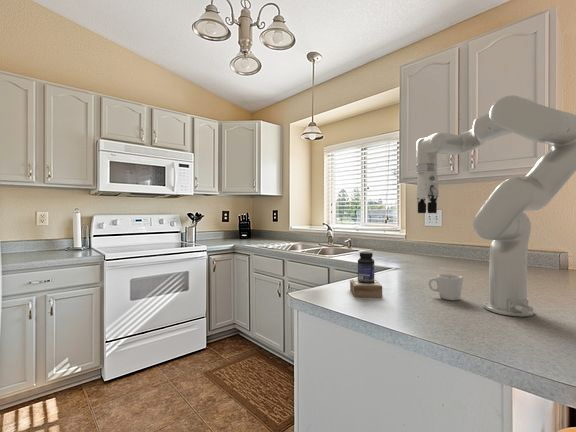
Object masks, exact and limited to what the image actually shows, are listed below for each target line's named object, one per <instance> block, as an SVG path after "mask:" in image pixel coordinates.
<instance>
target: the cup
mask: <svg viewBox="0 0 576 432" xmlns="http://www.w3.org/2000/svg"><path fill="white" fill-rule="evenodd" d="M463 280H464V278H463V276H461V275H459V274H454V273H453V274H452V273H440V274H437V277H431V278H430V279H429V280H428V287H429V289H430V290H431V291H434V292H438V294H439V297H440V298H441V299H444V300H447V301H458V300H460V299H461V295H462V287H463ZM433 281H435V282H436V287H433V286H432V282H433Z"/></svg>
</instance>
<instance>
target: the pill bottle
mask: <svg viewBox="0 0 576 432" xmlns="http://www.w3.org/2000/svg"><path fill="white" fill-rule="evenodd" d="M373 256H374V255H373V252H369V251H361V252H359V257H360V258H359V259H357V280H358V281H359V282H360V283H366V284H371V283H374V280H375V260H374V259H373Z"/></svg>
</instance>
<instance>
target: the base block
mask: <svg viewBox="0 0 576 432" xmlns="http://www.w3.org/2000/svg"><path fill="white" fill-rule="evenodd" d="M349 285H350V286H349V289H350V293H351V294H352V295H353V296H352V297H354V298H383V286H382V284H381V283H380V282H379V281H377V280H376V279H374V283H371V284H366V283H360V282H359V281H358V279H350V280H349Z"/></svg>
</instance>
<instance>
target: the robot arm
mask: <svg viewBox="0 0 576 432" xmlns="http://www.w3.org/2000/svg"><path fill="white" fill-rule="evenodd" d="M512 133H513V134H515V135H518V136H520V137H522V138H524V139H527V140H528V141H529V140H530V141H532V142H536V143H540V144H546V145H551V148H550V149H549V151H547V152H546V153H545V154H543V156H541V158H539V159H538V160H537V161H536V163H535V164H534V166H533V167H532V168H531V169H530V171H529V172H528V173H527V174H525V176H514V177H509V178H508V179H506V180H503V181H502V182H501V183H499V185H497V186H496V187H495V189H493V191H492V192H491V194H490V195H489V196H488V198H487V199H486V200H485V202H484V203H483V205H482V206H481V207H480V209H479V210H478V211H477V212H476V215H475V216H474V219H473V223H472V224H473V225H472V226H473V231H474V232H475V234H476V235H477V236H478V237H479V238H482V239H484V240H488V241H491V243H490V246H489V247H490V248H489V263H488V264H489V265H488V266H489V269H488V271H489V273H488V280H489V283H488V284H489V285H488V286H489V288H488V289H489V291H488V298H489V299H488V300H487V301H485V302H483V308H484V309H486V310H487V311H489V312H492V313H495V314H500V315H505V316H510V317H531V316H533V315H534V311H535V310H534V307H532V306H530V305H529V300H528V254H529V253H528V249H529V243H530V242H529V241H530V235H531V231H532V225H531V224H532V222H531V219H530V218H529V216H528V215H527V213H525V212H527V211H529V212H530V211H539V210H541V209H544V207H546V206H548V204H550V202H551V201H552V200H553V199H554V197H556V195H557V194H558V193H559V192H560V191H561V189H563V188H564V186H565V185H566V183H568V181H569V180H570V178H571V177H572V176H573V175H574V174H575V172H576V114H575V113H572V112H568V111H563V110H559V109H555V108H553V107H550V106H546V105H543V104H539V103H537V102H535V101H534V100H532V99H529V98H526V97H523V96H518V95H505V96H503V97H501V98H499V99H498V100H496V101H495V102H493V104H492V106H491V107H490V110H489V112H487V113H484V114H482V115H480V116H478V117H476V118H475V119H474V120H473V124H472V129H469V130H468V131H464V132H462V133H459V134H454V133H453V134H452V133H449V132H448V133H447V132H435V133H433V134H430V135H429V136H427V137H422V138H419V139H417V141H416V142H415V143H416V144H415V145H416V147H415V148H416V152H415V153H416V154H415V155H416V158H415V159H416V162H415V163H416V175H417V182H416V183H417V184H416V197H417V198H416V199H417V200H416V201H417V213H418V214H426V213H427V214H437V212H438V211H437V209H438V208H437V207H438V206H437V205H438V197H439V196H440V195H439V194H440V191H439V177H438V154H440V155H449V156H451V155H452V156H456V155H460V154H461V155H462V154H464V153H467V152H471V151H474V150H476V149H478V148H480V147H481V146H483V145H485V143H486V142H488V141H492V140H495V139H497V138H500V137H503V136H506V135H509V134H512ZM426 201H428V202H427V203H426Z"/></svg>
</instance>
